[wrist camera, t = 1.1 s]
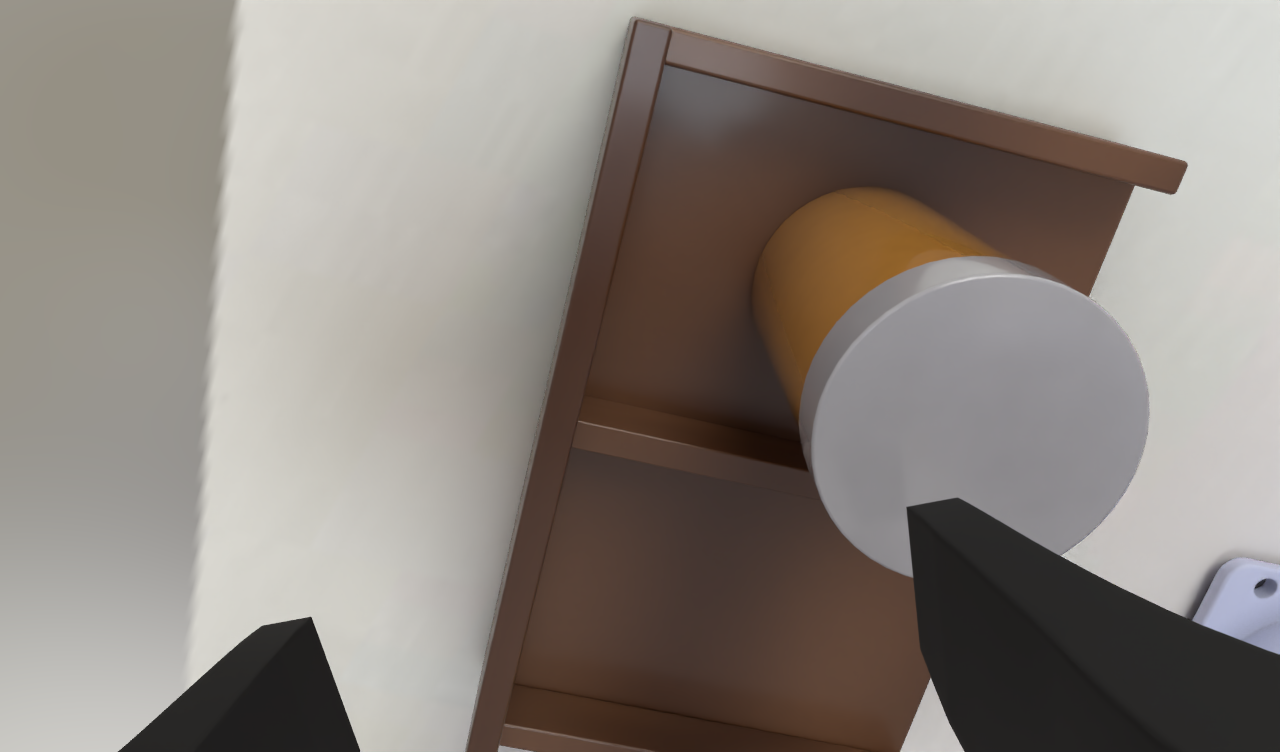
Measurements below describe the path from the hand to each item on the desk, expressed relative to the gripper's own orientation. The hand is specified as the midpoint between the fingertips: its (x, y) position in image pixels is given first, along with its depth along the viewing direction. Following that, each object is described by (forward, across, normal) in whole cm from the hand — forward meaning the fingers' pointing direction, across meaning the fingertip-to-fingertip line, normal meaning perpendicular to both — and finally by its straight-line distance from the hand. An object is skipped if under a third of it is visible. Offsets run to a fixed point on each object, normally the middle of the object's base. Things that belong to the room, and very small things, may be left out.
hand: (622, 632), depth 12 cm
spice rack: (+10, -3, +2) cm, 10 cm away
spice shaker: (+8, -5, -1) cm, 10 cm away
